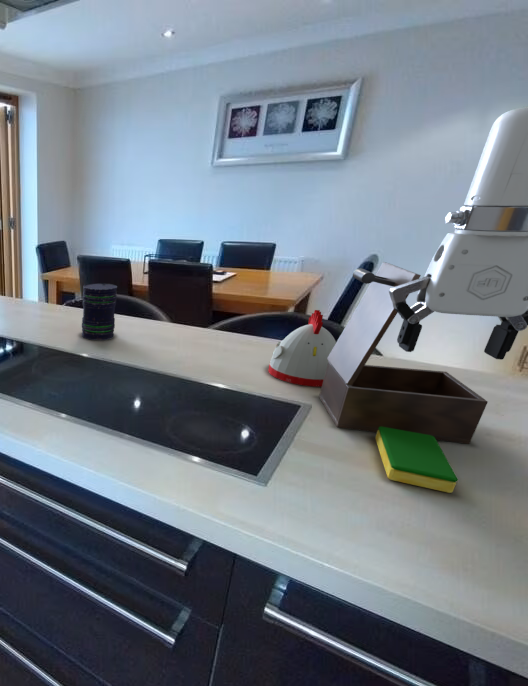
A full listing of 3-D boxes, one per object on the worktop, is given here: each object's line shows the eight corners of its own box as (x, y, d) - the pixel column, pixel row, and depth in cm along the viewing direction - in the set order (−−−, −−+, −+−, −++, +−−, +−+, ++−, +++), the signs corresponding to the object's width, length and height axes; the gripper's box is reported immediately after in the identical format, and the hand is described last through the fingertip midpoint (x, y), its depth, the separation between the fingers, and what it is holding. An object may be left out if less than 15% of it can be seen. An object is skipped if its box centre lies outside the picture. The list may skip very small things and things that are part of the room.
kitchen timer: (272, 382, 98) (286, 316, 92) (264, 361, 110) (277, 302, 104) (346, 390, 93) (366, 321, 87) (330, 367, 105) (347, 305, 99)
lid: (387, 262, 78) (353, 254, 79) (421, 275, 66) (380, 265, 68) (331, 360, 87) (300, 351, 88) (351, 385, 75) (316, 375, 77)
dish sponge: (387, 479, 64) (392, 465, 63) (374, 437, 75) (378, 425, 74) (452, 494, 61) (459, 479, 60) (429, 448, 72) (434, 435, 71)
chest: (431, 409, 84) (446, 371, 81) (469, 444, 72) (488, 401, 69) (318, 397, 90) (328, 361, 87) (336, 427, 79) (348, 387, 76)
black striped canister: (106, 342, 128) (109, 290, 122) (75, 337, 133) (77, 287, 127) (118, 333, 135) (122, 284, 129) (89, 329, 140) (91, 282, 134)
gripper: (425, 223, 54) (382, 354, 61) (621, 224, 48) (549, 369, 55) (401, 220, 61) (364, 339, 67) (571, 220, 55) (512, 350, 61)
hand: (447, 352), depth 61 cm, fingers open, 9 cm apart
